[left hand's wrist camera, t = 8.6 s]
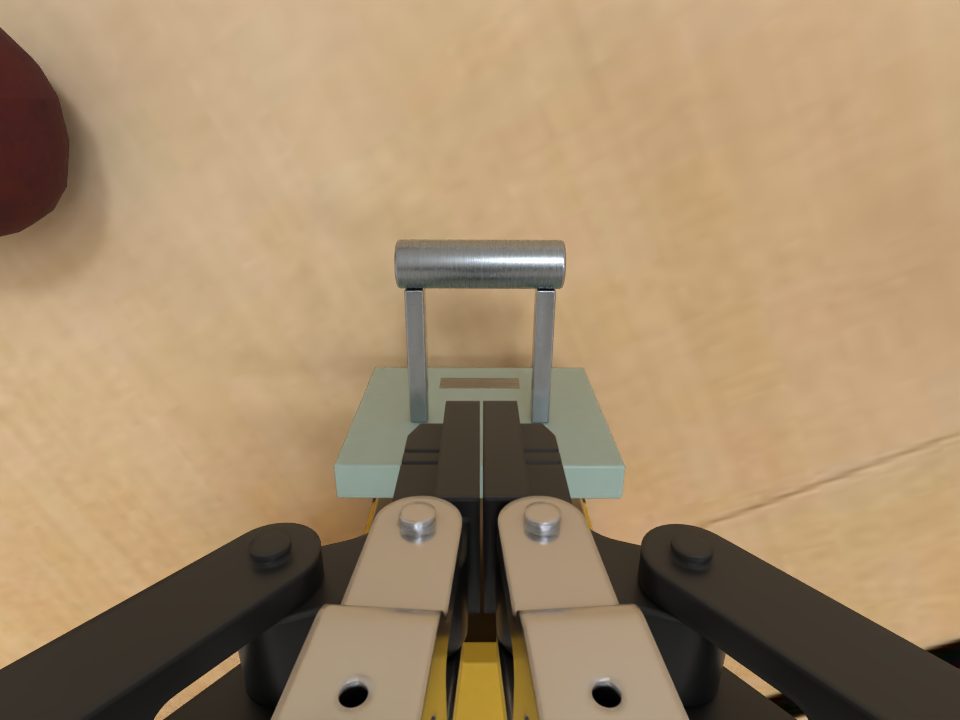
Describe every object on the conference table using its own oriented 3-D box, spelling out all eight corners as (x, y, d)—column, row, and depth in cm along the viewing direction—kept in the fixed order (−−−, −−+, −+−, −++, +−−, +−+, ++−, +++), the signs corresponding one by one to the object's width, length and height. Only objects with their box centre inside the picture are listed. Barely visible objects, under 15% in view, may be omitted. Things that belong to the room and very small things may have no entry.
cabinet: (374, 492, 28) (327, 663, 19) (582, 493, 28) (630, 664, 19) (394, 742, 35) (366, 953, 26) (561, 743, 35) (589, 953, 26)
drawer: (364, 216, 22) (310, 261, 15) (596, 217, 22) (650, 262, 15) (395, 655, 31) (370, 813, 24) (561, 655, 31) (585, 813, 24)
